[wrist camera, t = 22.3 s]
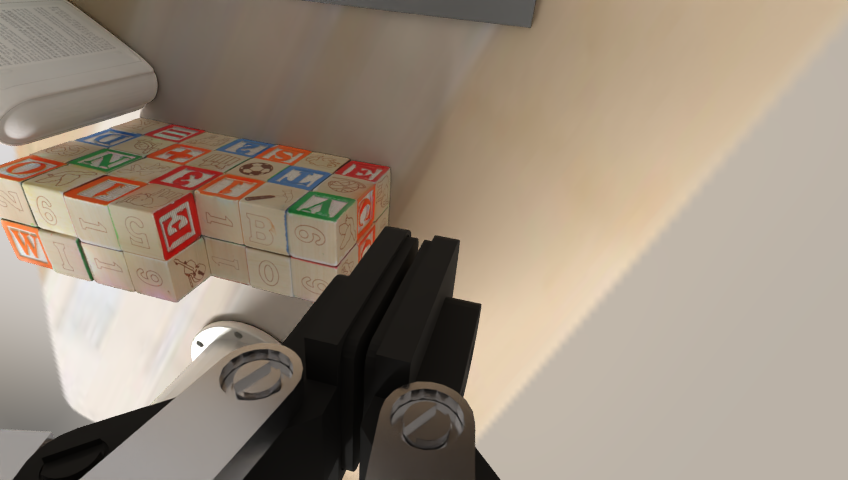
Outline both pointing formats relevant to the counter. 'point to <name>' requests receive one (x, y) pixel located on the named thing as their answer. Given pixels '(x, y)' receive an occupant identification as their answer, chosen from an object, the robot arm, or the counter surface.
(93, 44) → the white rounded slab
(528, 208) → the counter surface
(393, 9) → the domino mat
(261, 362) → the robot arm
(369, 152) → the counter surface
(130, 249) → the stack of blocks
